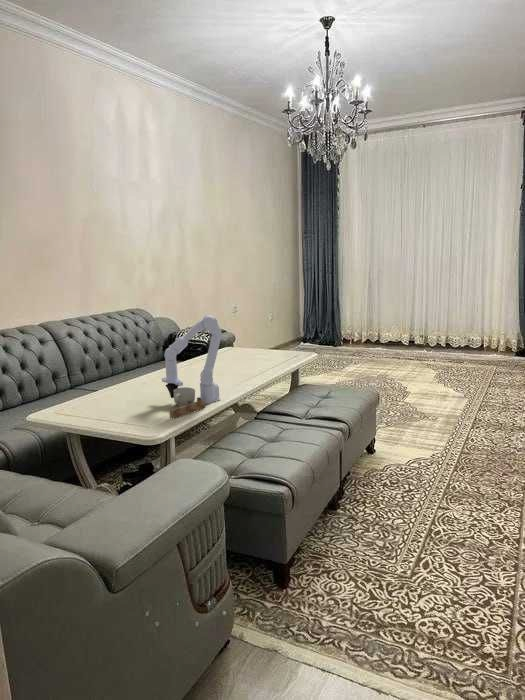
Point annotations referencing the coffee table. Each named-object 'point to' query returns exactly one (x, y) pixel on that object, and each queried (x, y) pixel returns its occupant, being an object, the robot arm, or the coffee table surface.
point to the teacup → (183, 395)
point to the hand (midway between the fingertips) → (173, 397)
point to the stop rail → (187, 408)
